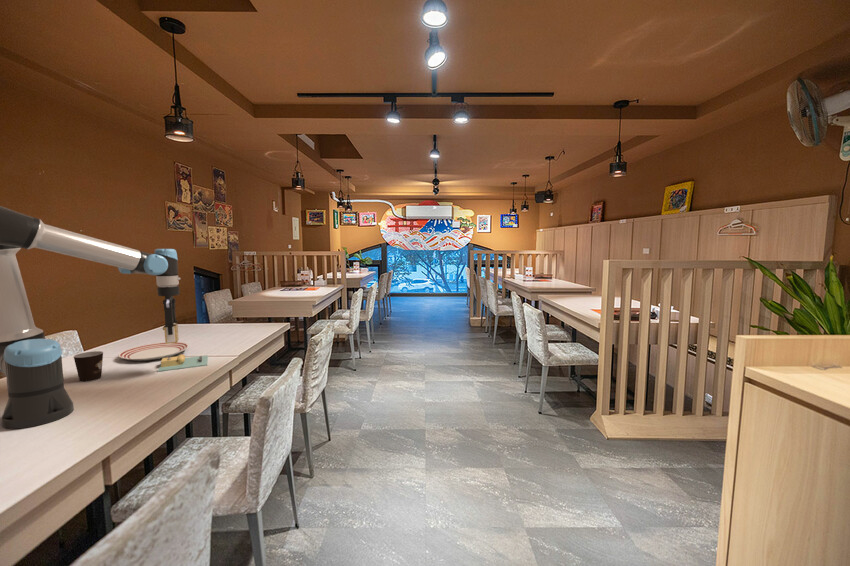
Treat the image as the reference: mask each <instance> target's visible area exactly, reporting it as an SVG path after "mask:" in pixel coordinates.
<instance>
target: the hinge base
mask: <svg viewBox="0 0 850 566" xmlns="http://www.w3.org/2000/svg"><path fill="white" fill-rule="evenodd" d="M208 358H209V356H208V355H200V356H191V357H186V355H185V354H182V353H179V355H178V354H177V356H176V355H175V356H171V357H167V358H162V359H161V361H160V365H159V368H158V369H157V373H159V372H161V373H162V372H166V371H167V372H168V371H173V370H175V371H176V370H182V369H190V368H197V367H205V366H208V360H209V359H208Z"/></svg>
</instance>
